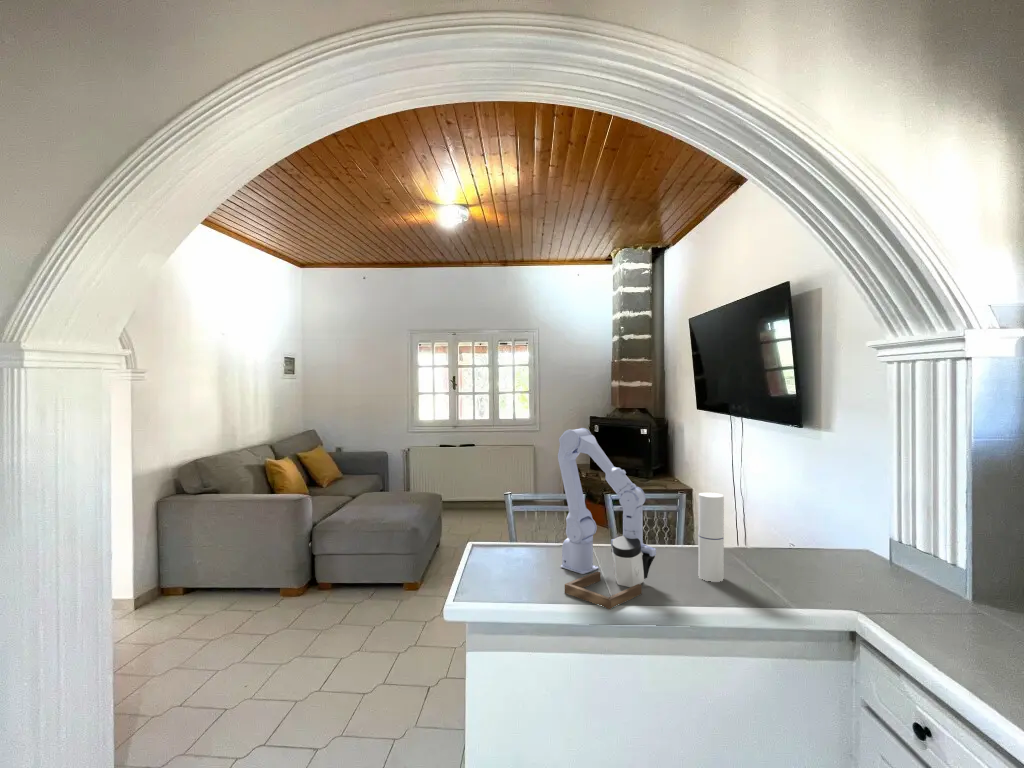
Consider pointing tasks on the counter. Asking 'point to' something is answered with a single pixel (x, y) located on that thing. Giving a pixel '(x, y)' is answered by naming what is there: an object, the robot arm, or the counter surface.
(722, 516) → the cylindrical container
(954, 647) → the counter surface
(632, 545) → the jar
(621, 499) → the robot arm
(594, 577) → the bay
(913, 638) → the counter surface
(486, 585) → the counter surface
